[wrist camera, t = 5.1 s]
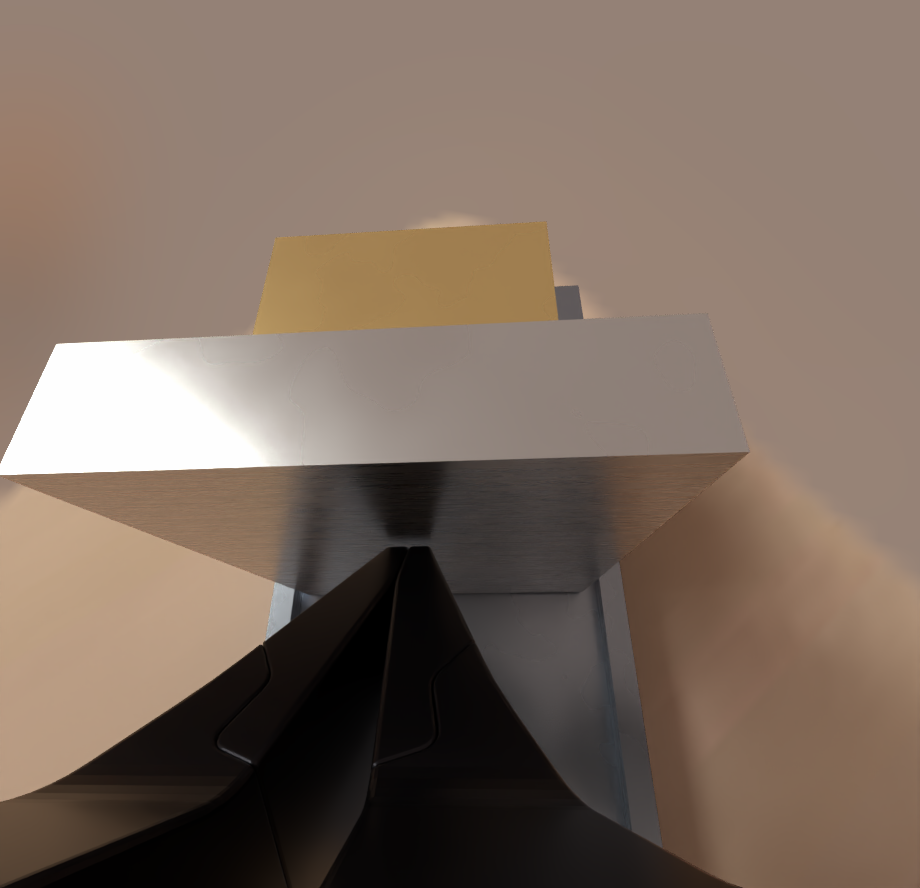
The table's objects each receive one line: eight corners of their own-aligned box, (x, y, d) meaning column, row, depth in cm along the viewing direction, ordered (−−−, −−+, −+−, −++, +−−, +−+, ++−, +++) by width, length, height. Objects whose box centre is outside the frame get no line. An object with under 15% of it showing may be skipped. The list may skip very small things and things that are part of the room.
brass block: (531, 533, 16) (568, 400, 8) (361, 537, 16) (233, 413, 8) (522, 420, 18) (546, 221, 10) (371, 426, 18) (275, 237, 10)
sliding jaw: (583, 591, 15) (749, 452, 5) (309, 595, 15) (-4, 474, 6) (575, 530, 16) (707, 313, 6) (317, 536, 16) (56, 344, 7)
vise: (656, 890, 12) (764, 1038, 7) (245, 880, 13) (93, 1011, 8) (583, 376, 19) (613, 278, 14) (319, 387, 20) (263, 297, 15)
